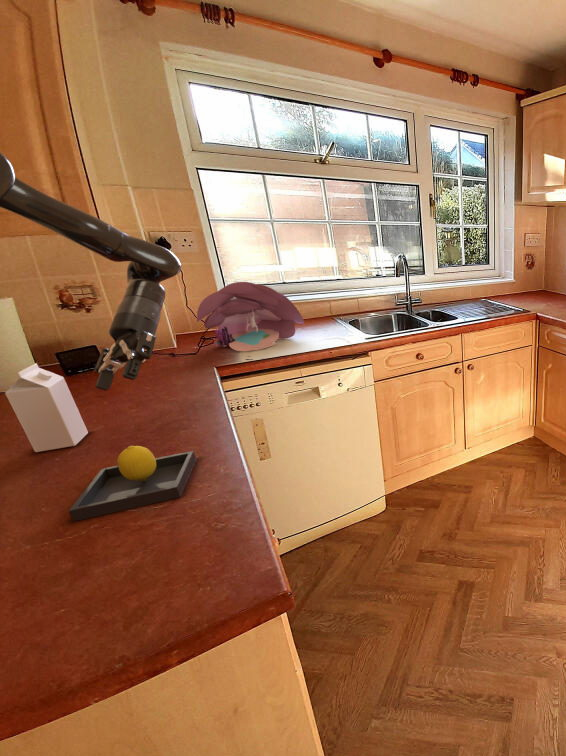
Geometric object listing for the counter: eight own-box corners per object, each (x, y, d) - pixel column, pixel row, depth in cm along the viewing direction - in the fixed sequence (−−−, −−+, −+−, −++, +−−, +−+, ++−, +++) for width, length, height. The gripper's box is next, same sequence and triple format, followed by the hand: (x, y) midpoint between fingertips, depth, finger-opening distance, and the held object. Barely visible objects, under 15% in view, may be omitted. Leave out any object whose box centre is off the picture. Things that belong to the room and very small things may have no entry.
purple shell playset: (218, 369, 162) (190, 301, 146) (205, 345, 176) (177, 280, 161) (311, 342, 182) (294, 279, 166) (292, 323, 196) (275, 263, 180)
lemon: (124, 492, 81) (108, 456, 78) (129, 478, 86) (114, 444, 83) (159, 482, 84) (146, 448, 81) (163, 469, 88) (150, 436, 85)
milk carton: (35, 453, 96) (-5, 375, 89) (51, 439, 102) (15, 365, 95) (75, 446, 99) (40, 370, 92) (88, 433, 105) (56, 361, 98)
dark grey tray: (73, 521, 74) (68, 510, 73) (105, 478, 86) (101, 468, 86) (180, 497, 80) (176, 487, 79) (196, 459, 92) (193, 450, 92)
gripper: (96, 322, 95) (71, 386, 88) (139, 301, 91) (117, 366, 84) (133, 338, 101) (113, 398, 94) (175, 319, 97) (158, 381, 90)
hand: (115, 383), depth 89 cm, fingers open, 8 cm apart
